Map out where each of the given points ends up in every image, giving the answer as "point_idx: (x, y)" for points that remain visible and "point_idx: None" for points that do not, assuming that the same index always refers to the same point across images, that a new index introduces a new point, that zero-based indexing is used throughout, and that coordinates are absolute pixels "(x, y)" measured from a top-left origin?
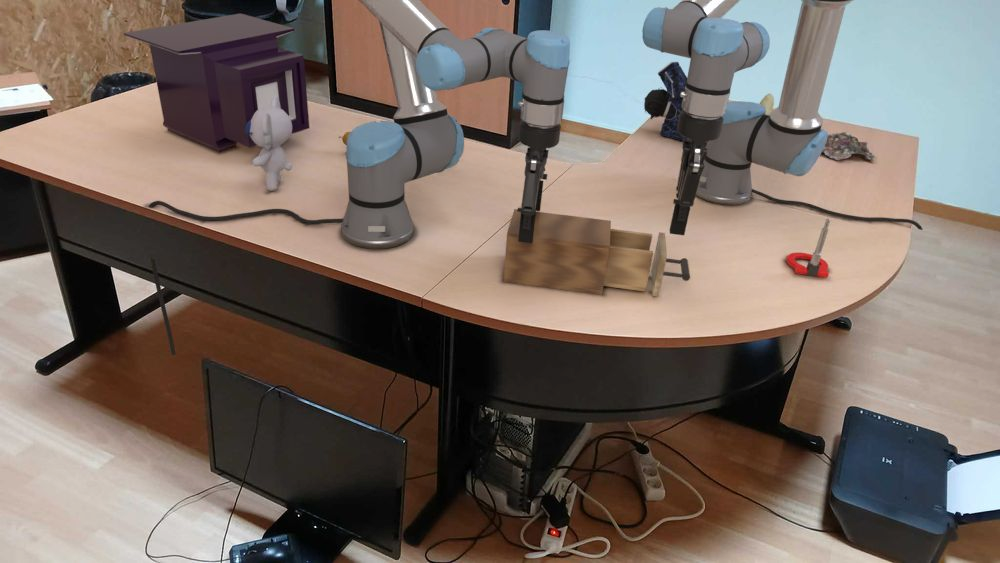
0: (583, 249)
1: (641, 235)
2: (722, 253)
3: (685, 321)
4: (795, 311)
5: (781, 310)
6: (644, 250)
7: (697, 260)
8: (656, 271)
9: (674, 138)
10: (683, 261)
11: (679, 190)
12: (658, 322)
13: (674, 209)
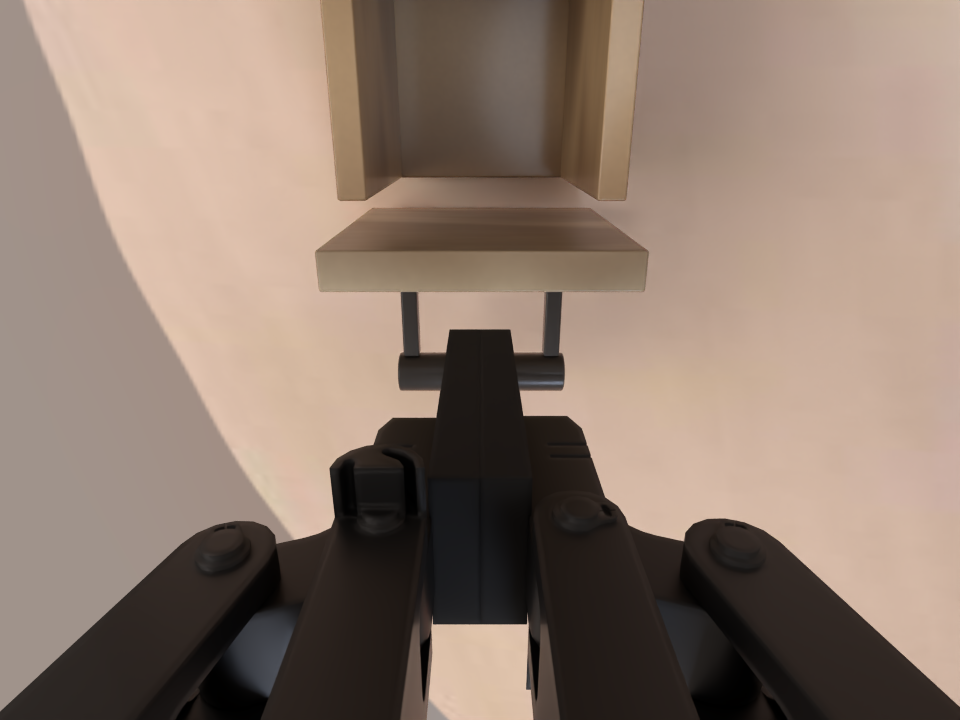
0: None
1: (601, 118)
2: (817, 509)
3: (257, 337)
4: (447, 668)
5: (441, 635)
6: (353, 136)
7: (750, 414)
8: (378, 226)
9: None
10: (529, 371)
11: (542, 596)
12: (207, 230)
13: (465, 423)
